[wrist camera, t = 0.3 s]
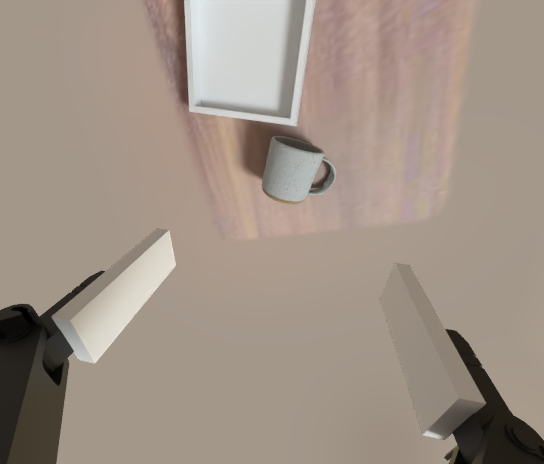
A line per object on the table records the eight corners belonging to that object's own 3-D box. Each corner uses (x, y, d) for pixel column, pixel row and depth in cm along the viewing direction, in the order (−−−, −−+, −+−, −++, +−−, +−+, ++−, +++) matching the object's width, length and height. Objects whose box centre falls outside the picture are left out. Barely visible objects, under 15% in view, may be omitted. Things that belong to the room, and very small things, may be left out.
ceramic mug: (264, 183, 39) (254, 197, 33) (276, 133, 36) (267, 137, 29) (324, 201, 39) (326, 219, 32) (343, 152, 35) (349, 161, 28)
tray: (194, -28, 29) (182, -42, 26) (318, -20, 27) (318, -34, 25) (198, 111, 36) (189, 111, 34) (297, 125, 34) (295, 125, 32)
